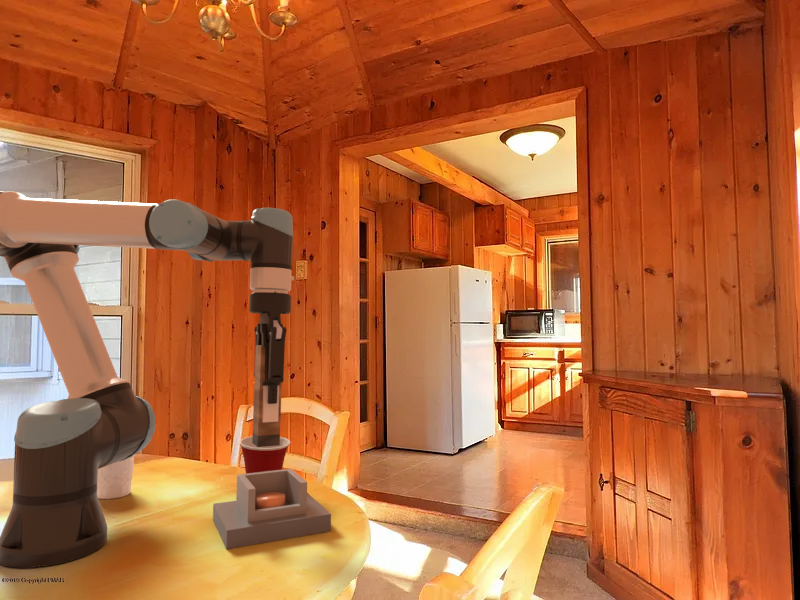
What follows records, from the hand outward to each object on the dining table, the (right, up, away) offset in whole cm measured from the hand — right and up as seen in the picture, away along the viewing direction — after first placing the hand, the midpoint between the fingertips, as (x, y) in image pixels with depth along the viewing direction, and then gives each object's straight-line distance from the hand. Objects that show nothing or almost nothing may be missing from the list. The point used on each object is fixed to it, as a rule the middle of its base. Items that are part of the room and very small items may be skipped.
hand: (266, 419), depth 98 cm
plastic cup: (-5, -21, +17) cm, 27 cm away
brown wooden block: (0, -4, 0) cm, 4 cm away
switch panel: (+1, -19, 0) cm, 19 cm away
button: (+1, -16, 0) cm, 16 cm away
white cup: (-38, -20, +17) cm, 46 cm away
